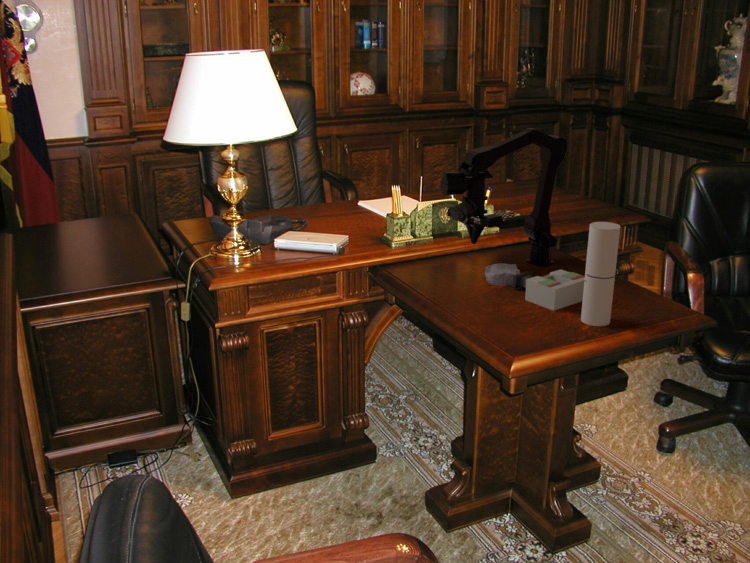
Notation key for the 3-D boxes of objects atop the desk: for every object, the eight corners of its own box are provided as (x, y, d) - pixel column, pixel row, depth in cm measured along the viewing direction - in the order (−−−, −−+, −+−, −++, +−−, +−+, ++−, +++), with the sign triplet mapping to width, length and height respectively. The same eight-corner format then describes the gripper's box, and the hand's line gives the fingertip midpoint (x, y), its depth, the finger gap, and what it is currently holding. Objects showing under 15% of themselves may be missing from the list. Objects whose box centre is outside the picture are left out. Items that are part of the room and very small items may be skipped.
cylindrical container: (593, 328, 182) (603, 230, 174) (575, 318, 188) (583, 223, 180) (616, 323, 185) (626, 227, 177) (597, 313, 191) (606, 220, 183)
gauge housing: (558, 289, 209) (560, 268, 207) (587, 299, 201) (589, 277, 199) (525, 300, 201) (526, 278, 199) (553, 310, 193) (555, 288, 191)
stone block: (489, 292, 213) (523, 285, 212) (486, 276, 211) (521, 269, 211) (484, 280, 224) (516, 273, 223) (481, 265, 223) (514, 258, 222)
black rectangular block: (529, 282, 213) (530, 266, 211) (553, 291, 206) (555, 274, 204) (512, 287, 209) (513, 270, 207) (536, 296, 202) (537, 279, 200)
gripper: (434, 191, 221) (433, 241, 226) (478, 202, 207) (476, 255, 212) (461, 186, 227) (460, 235, 232) (505, 197, 213) (503, 248, 218)
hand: (473, 243), depth 223 cm, fingers closed
